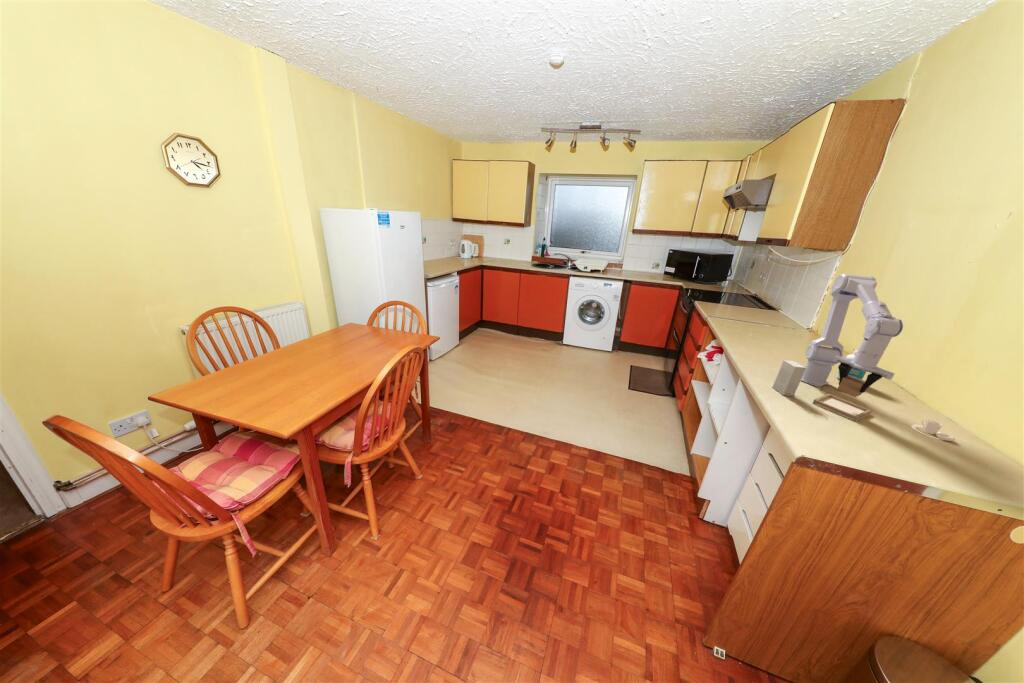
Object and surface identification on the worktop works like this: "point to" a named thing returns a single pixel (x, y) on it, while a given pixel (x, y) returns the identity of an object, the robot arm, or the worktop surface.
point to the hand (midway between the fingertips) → (851, 388)
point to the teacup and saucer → (934, 430)
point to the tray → (842, 407)
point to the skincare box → (788, 378)
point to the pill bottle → (854, 369)
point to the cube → (851, 386)
